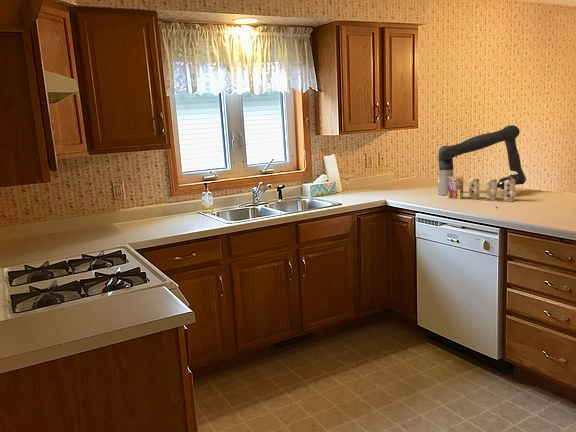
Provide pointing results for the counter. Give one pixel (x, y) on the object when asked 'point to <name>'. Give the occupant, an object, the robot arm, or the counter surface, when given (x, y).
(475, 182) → the dotted block left
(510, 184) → the dotted block right
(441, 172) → the robot arm
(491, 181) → the plain birch block
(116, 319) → the counter surface
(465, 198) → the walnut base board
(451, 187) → the candy box
